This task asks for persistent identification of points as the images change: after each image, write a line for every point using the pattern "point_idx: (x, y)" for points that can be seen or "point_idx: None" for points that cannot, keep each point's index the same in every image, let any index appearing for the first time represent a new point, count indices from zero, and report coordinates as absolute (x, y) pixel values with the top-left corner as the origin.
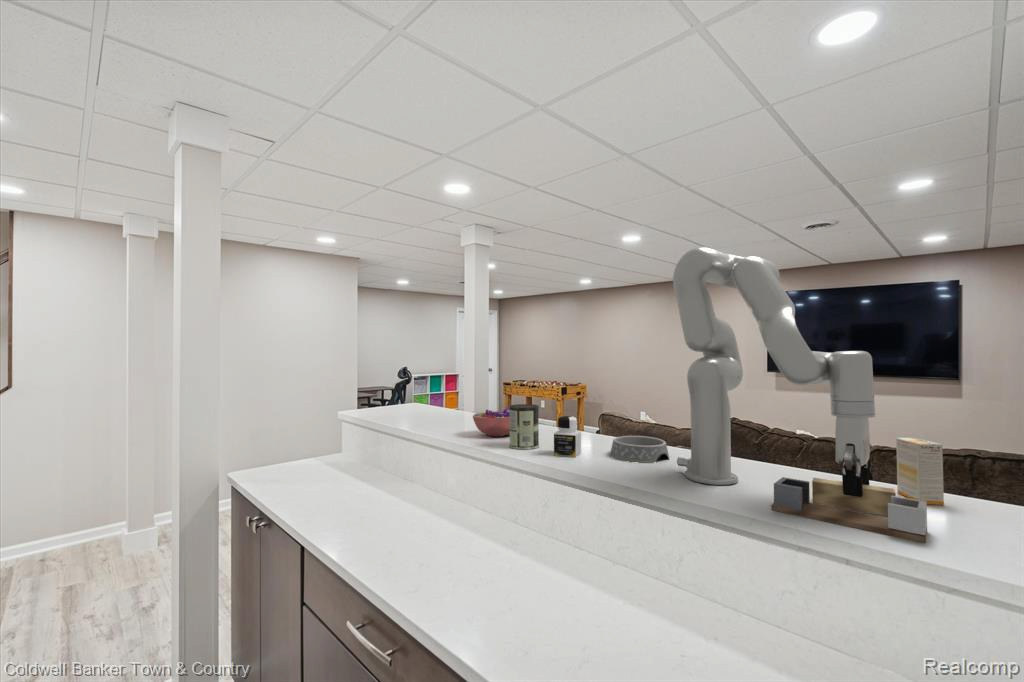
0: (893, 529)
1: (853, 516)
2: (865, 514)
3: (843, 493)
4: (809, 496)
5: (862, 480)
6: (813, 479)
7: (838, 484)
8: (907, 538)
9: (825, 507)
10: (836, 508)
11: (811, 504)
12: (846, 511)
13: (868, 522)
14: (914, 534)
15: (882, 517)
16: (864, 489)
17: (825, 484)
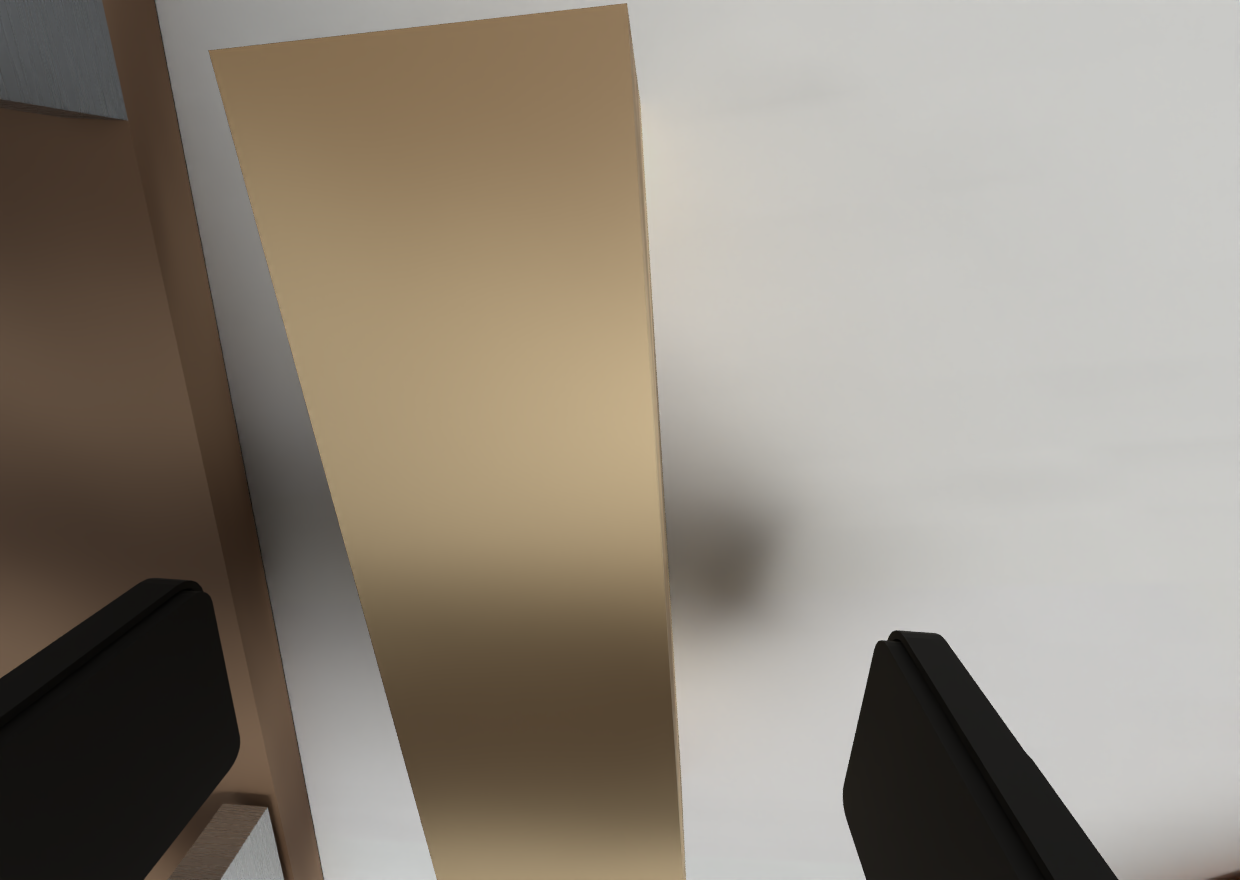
0: None
1: (61, 573)
2: (227, 648)
3: (155, 578)
4: (32, 105)
5: (881, 826)
6: (417, 44)
7: (379, 538)
8: None
9: (111, 323)
10: (184, 427)
11: (75, 156)
12: (162, 516)
13: (2, 670)
14: None
15: (255, 747)
16: (421, 811)
17: (301, 329)
